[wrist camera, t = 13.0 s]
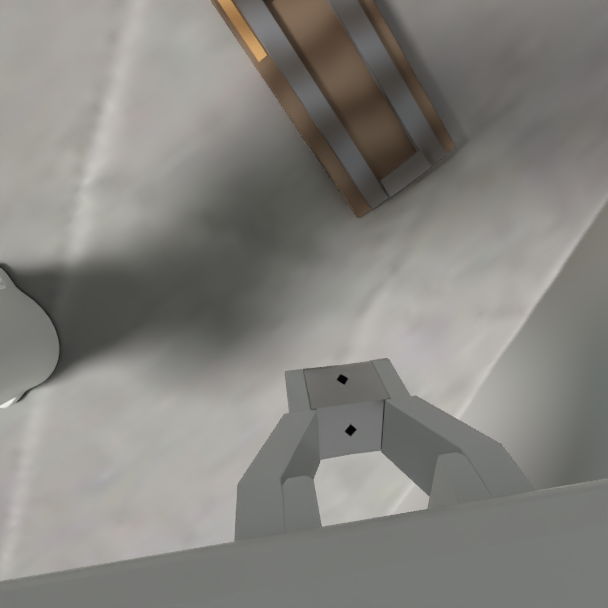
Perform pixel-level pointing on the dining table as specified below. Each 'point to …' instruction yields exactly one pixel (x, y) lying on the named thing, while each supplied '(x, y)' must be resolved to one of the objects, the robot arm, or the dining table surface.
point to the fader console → (343, 91)
